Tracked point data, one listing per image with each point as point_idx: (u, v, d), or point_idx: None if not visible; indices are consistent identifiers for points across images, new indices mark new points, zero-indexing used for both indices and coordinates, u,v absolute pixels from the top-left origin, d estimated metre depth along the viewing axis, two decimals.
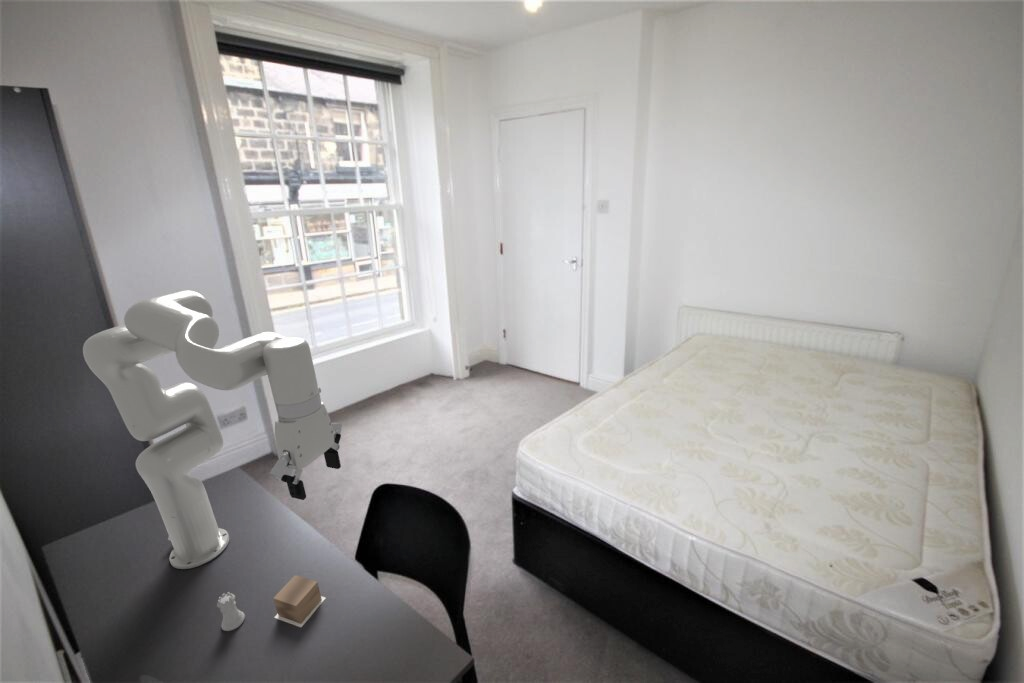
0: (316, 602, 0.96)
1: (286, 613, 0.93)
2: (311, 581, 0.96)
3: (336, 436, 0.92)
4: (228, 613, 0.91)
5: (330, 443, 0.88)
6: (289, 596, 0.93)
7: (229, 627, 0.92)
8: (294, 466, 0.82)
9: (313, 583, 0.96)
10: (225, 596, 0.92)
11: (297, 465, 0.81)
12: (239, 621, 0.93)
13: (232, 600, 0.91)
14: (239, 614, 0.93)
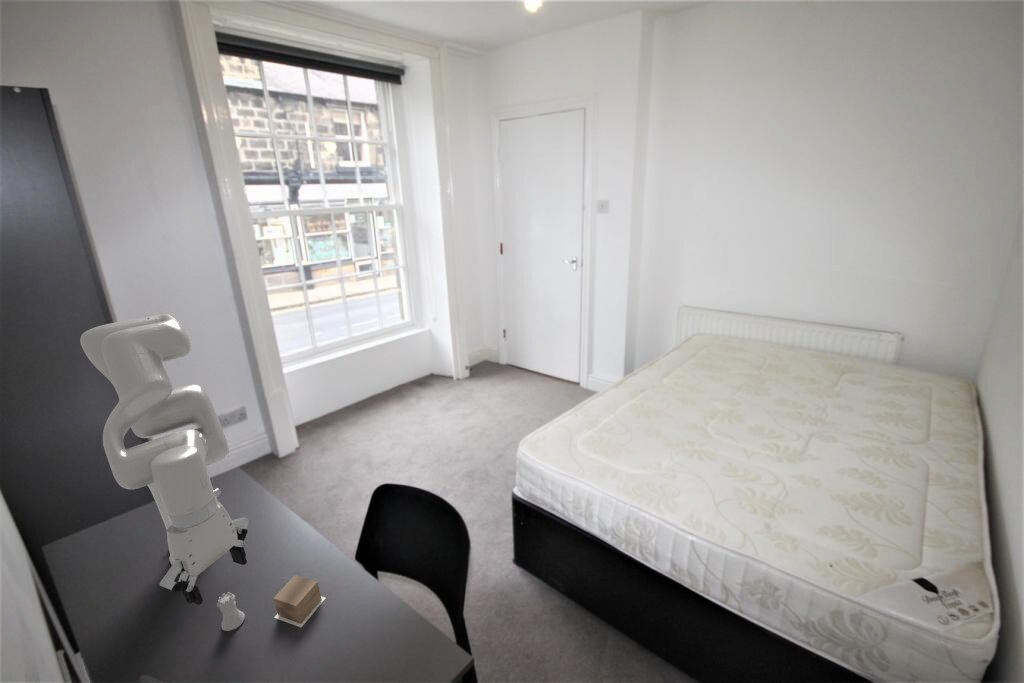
0: (316, 602, 0.96)
1: (286, 613, 0.93)
2: (311, 581, 0.96)
3: (241, 532, 0.93)
4: (228, 613, 0.91)
5: (232, 543, 0.89)
6: (289, 596, 0.93)
7: (229, 627, 0.92)
8: (188, 573, 0.83)
9: (313, 583, 0.96)
10: (225, 596, 0.92)
11: (190, 573, 0.82)
12: (239, 621, 0.93)
13: (232, 600, 0.91)
14: (239, 614, 0.93)
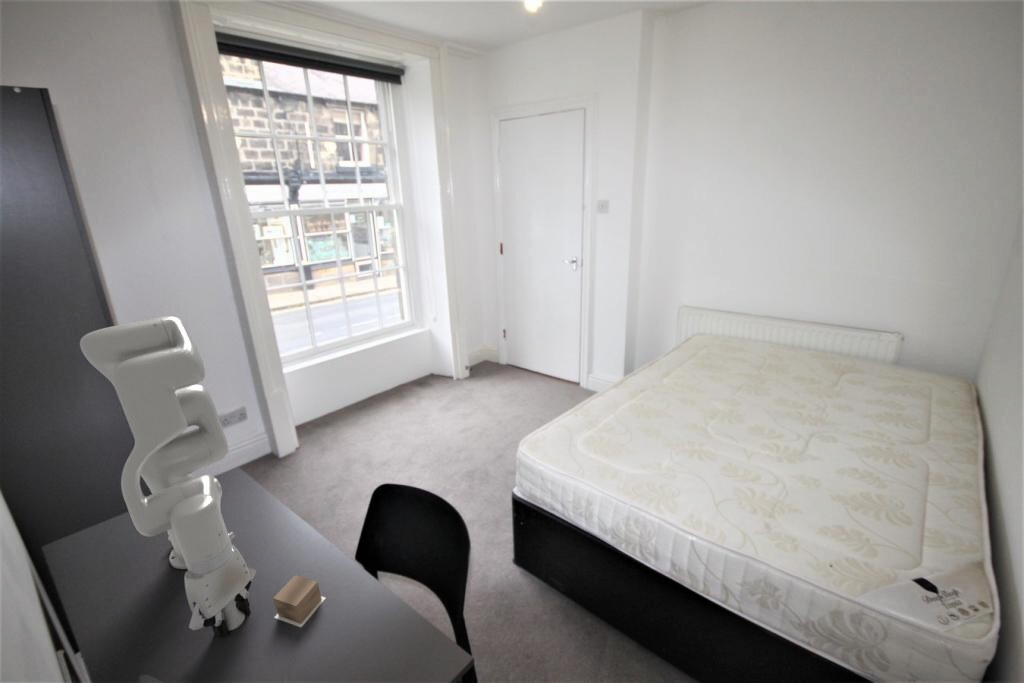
0: (316, 602, 0.96)
1: (286, 613, 0.93)
2: (311, 581, 0.96)
3: None
4: (228, 613, 0.91)
5: (245, 583, 0.93)
6: (289, 596, 0.93)
7: (229, 627, 0.92)
8: None
9: (313, 583, 0.96)
10: None
11: (206, 615, 0.86)
12: (239, 621, 0.93)
13: (232, 600, 0.91)
14: (239, 614, 0.93)
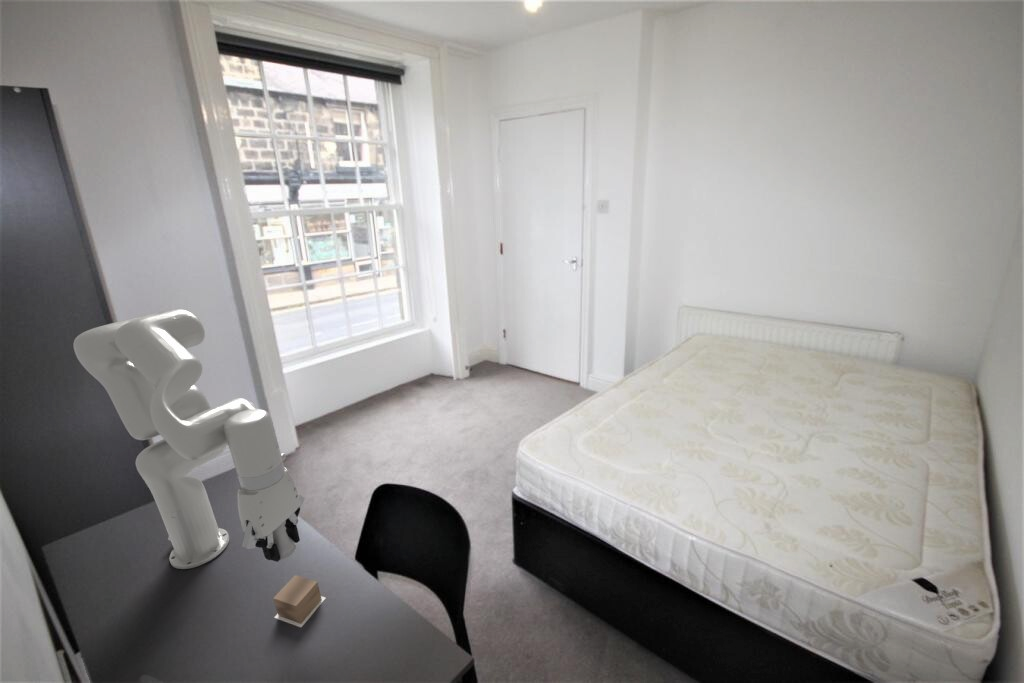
0: (316, 602, 0.96)
1: (286, 613, 0.93)
2: (311, 581, 0.96)
3: None
4: (279, 537, 0.88)
5: (295, 507, 0.90)
6: (289, 596, 0.93)
7: (280, 552, 0.88)
8: None
9: (313, 583, 0.96)
10: None
11: (259, 534, 0.83)
12: (290, 547, 0.90)
13: (283, 523, 0.88)
14: (289, 540, 0.90)
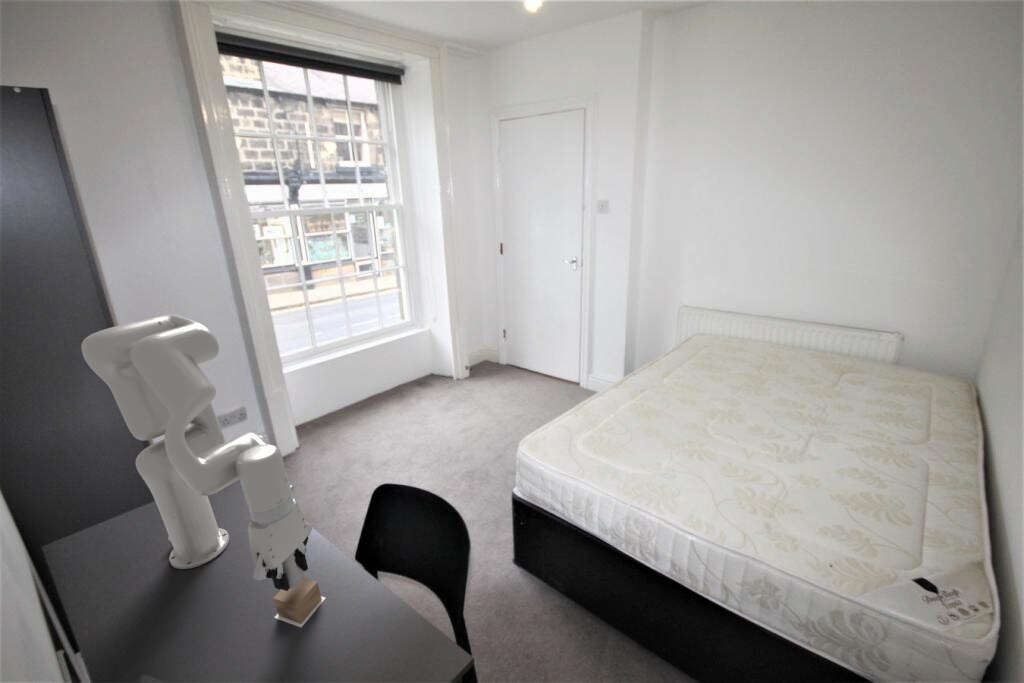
0: (316, 602, 0.96)
1: (286, 613, 0.93)
2: (311, 581, 0.96)
3: None
4: (288, 566, 0.91)
5: (303, 537, 0.93)
6: (289, 596, 0.93)
7: (289, 581, 0.91)
8: None
9: (313, 583, 0.96)
10: None
11: (269, 566, 0.85)
12: (299, 576, 0.92)
13: (292, 554, 0.91)
14: (298, 569, 0.93)
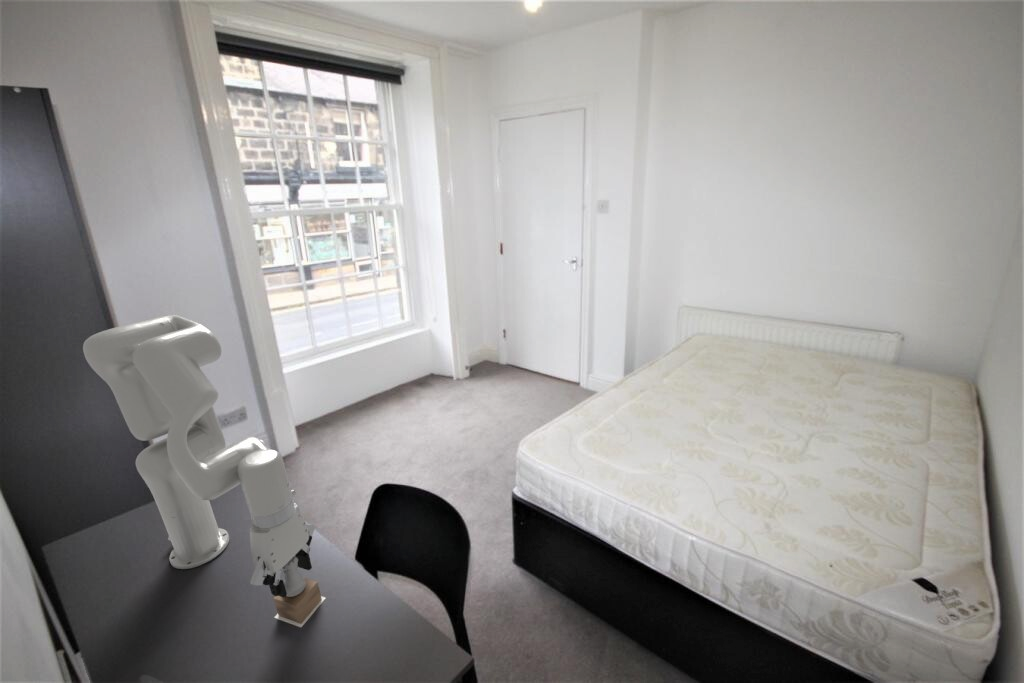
0: (316, 602, 0.96)
1: (286, 613, 0.93)
2: (311, 581, 0.96)
3: None
4: (291, 574, 0.92)
5: (304, 541, 0.93)
6: None
7: (291, 589, 0.92)
8: None
9: (313, 583, 0.96)
10: None
11: (271, 570, 0.86)
12: (300, 584, 0.93)
13: (296, 562, 0.92)
14: (300, 577, 0.94)
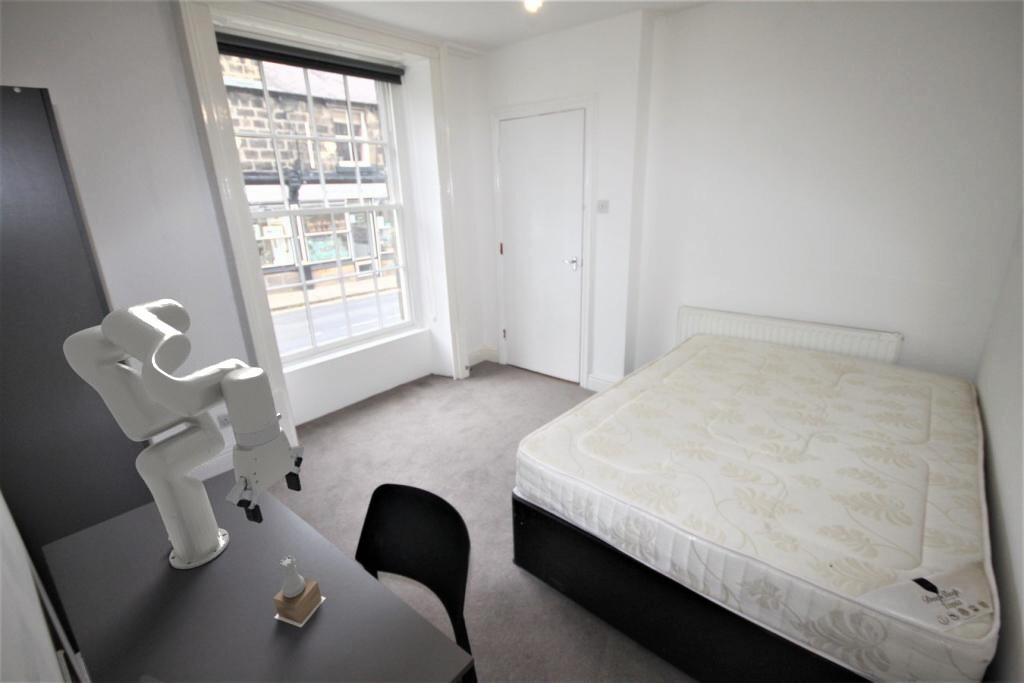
0: (316, 602, 0.96)
1: (286, 613, 0.93)
2: (311, 581, 0.96)
3: (297, 460, 0.95)
4: (290, 576, 0.92)
5: (289, 468, 0.91)
6: None
7: (290, 590, 0.92)
8: (251, 491, 0.85)
9: (313, 583, 0.96)
10: (286, 559, 0.92)
11: (253, 491, 0.84)
12: (300, 585, 0.93)
13: (293, 563, 0.92)
14: (299, 578, 0.94)
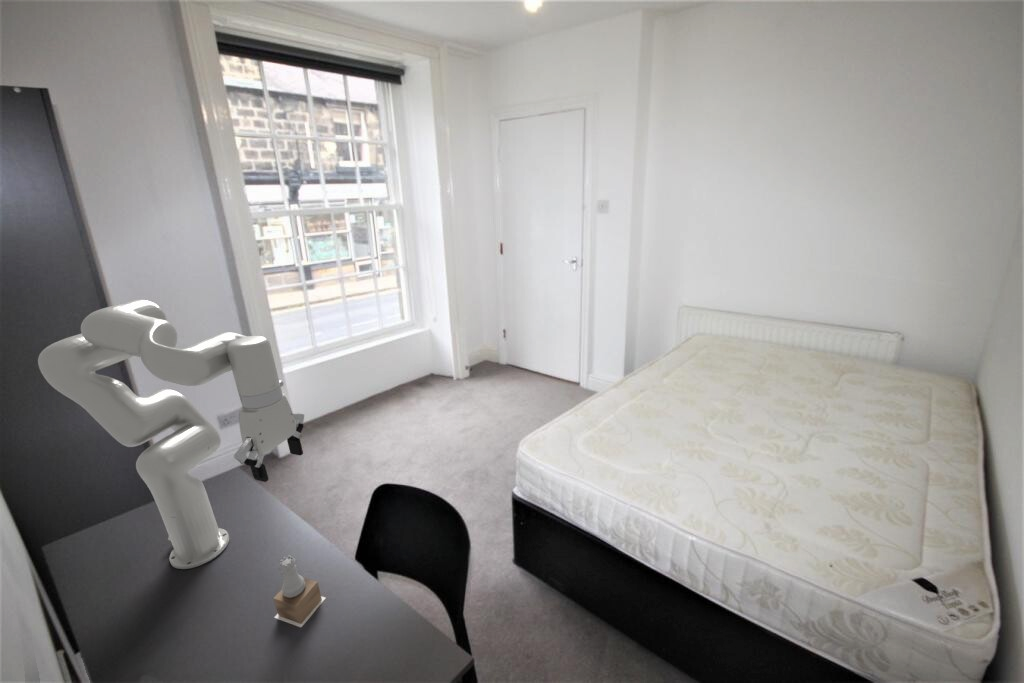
0: (316, 602, 0.96)
1: (286, 613, 0.93)
2: (311, 581, 0.96)
3: (298, 426, 1.02)
4: (290, 576, 0.92)
5: (292, 431, 0.98)
6: None
7: (290, 590, 0.92)
8: (257, 451, 0.92)
9: (313, 583, 0.96)
10: (286, 559, 0.92)
11: (259, 450, 0.91)
12: (300, 585, 0.93)
13: (293, 563, 0.92)
14: (299, 578, 0.94)
